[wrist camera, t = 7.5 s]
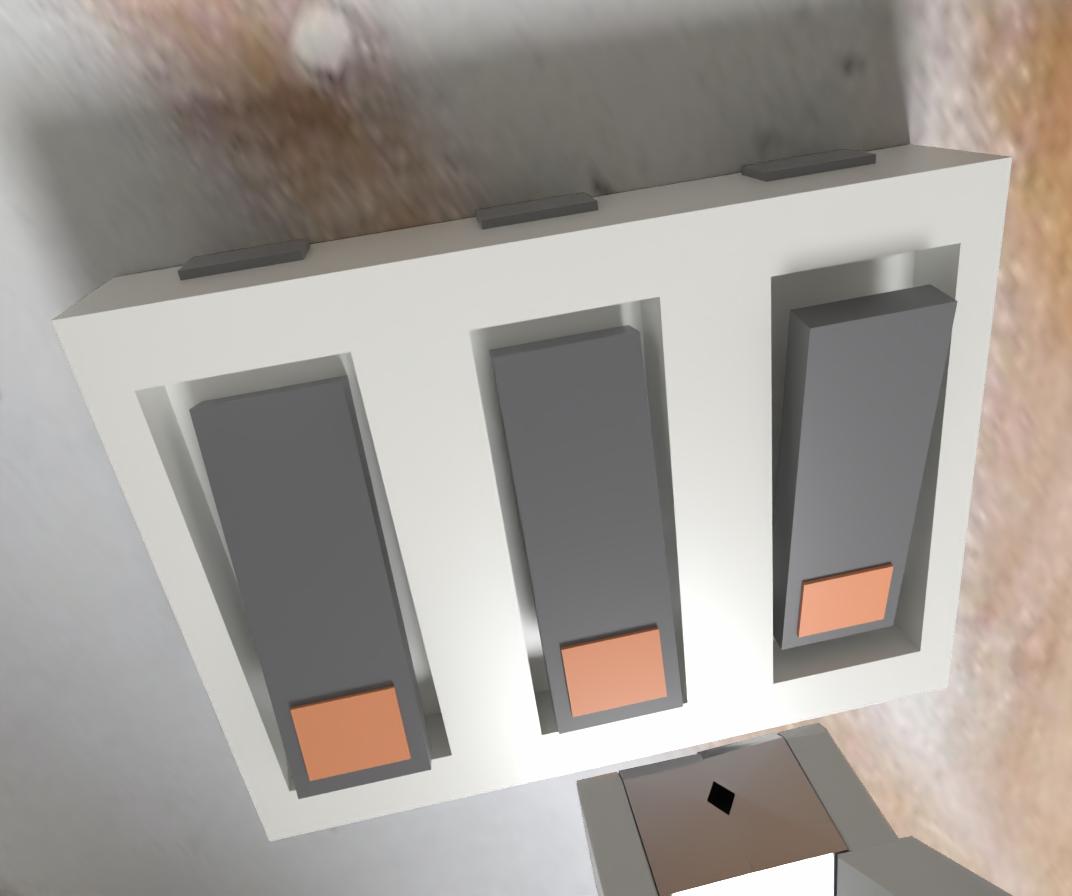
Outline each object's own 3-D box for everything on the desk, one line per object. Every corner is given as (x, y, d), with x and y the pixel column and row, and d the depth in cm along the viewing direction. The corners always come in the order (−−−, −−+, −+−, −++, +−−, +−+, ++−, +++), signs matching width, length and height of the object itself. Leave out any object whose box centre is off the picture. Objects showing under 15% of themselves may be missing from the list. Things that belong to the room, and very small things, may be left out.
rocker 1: (431, 746, 25) (431, 772, 24) (304, 774, 25) (297, 802, 23) (347, 375, 22) (341, 382, 21) (201, 401, 22) (187, 410, 20)
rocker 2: (874, 601, 28) (895, 628, 27) (766, 624, 28) (783, 652, 27) (930, 283, 21) (960, 303, 20) (789, 310, 21) (812, 330, 20)
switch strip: (879, 611, 32) (947, 687, 28) (286, 740, 30) (269, 841, 26) (911, 135, 24) (1013, 146, 20) (110, 268, 22) (46, 310, 18)
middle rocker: (671, 685, 26) (684, 708, 25) (553, 711, 26) (559, 736, 24) (628, 324, 22) (640, 331, 21) (489, 350, 22) (493, 358, 21)
